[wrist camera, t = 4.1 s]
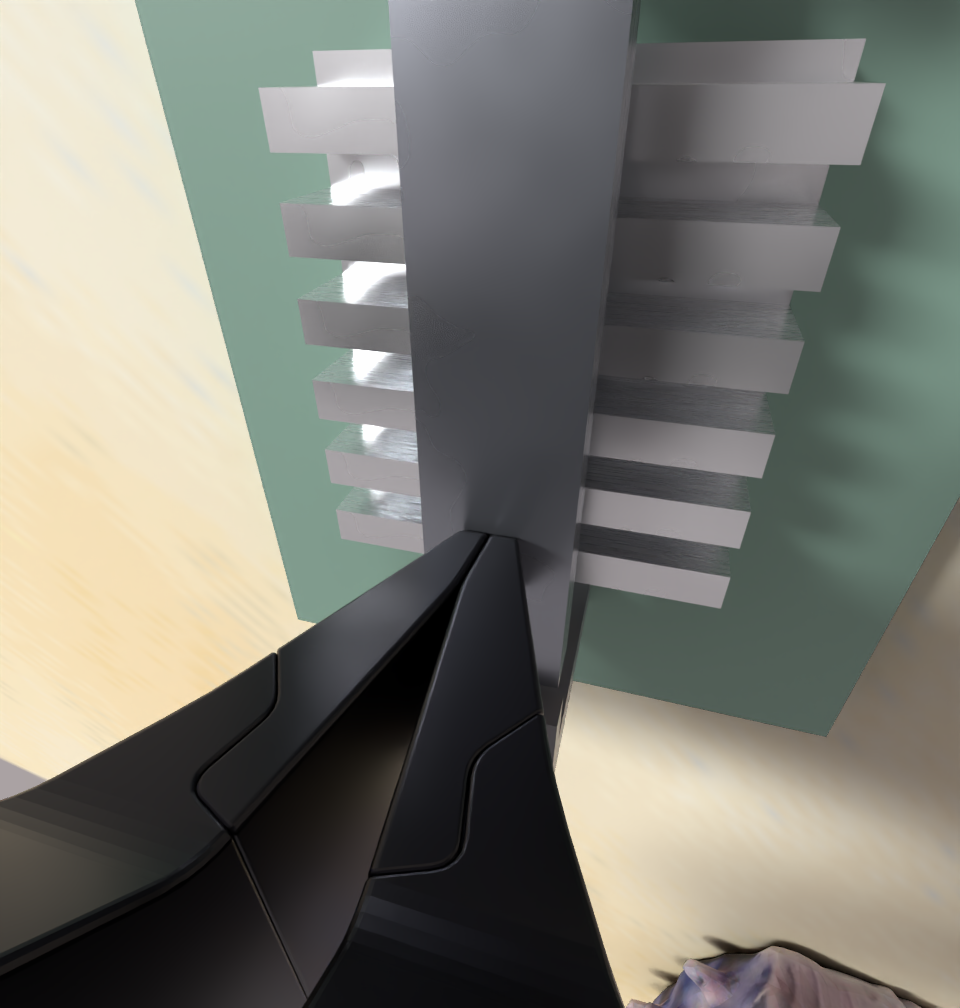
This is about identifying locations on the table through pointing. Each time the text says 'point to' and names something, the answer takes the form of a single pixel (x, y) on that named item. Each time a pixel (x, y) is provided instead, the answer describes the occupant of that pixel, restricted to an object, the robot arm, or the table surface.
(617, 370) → the heatsink
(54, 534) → the table surface
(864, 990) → the cell model
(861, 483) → the board
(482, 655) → the robot arm
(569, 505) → the strap
